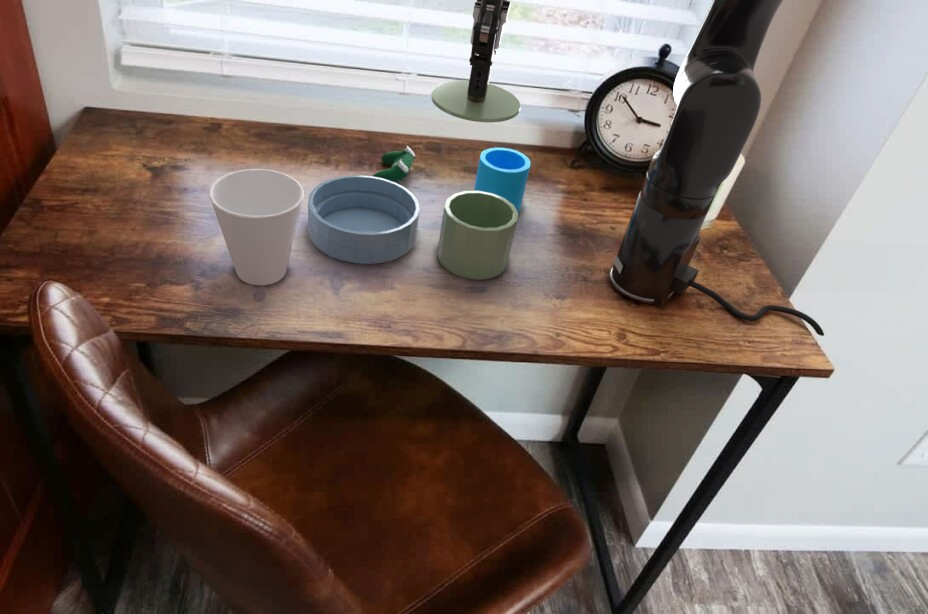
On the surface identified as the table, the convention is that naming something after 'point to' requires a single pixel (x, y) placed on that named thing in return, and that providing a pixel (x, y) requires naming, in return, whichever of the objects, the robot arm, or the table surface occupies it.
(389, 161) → the gaming controller
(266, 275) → the cup
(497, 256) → the canister
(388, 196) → the bowl
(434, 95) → the lid
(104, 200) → the table surface
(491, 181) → the mug
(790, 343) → the table surface
